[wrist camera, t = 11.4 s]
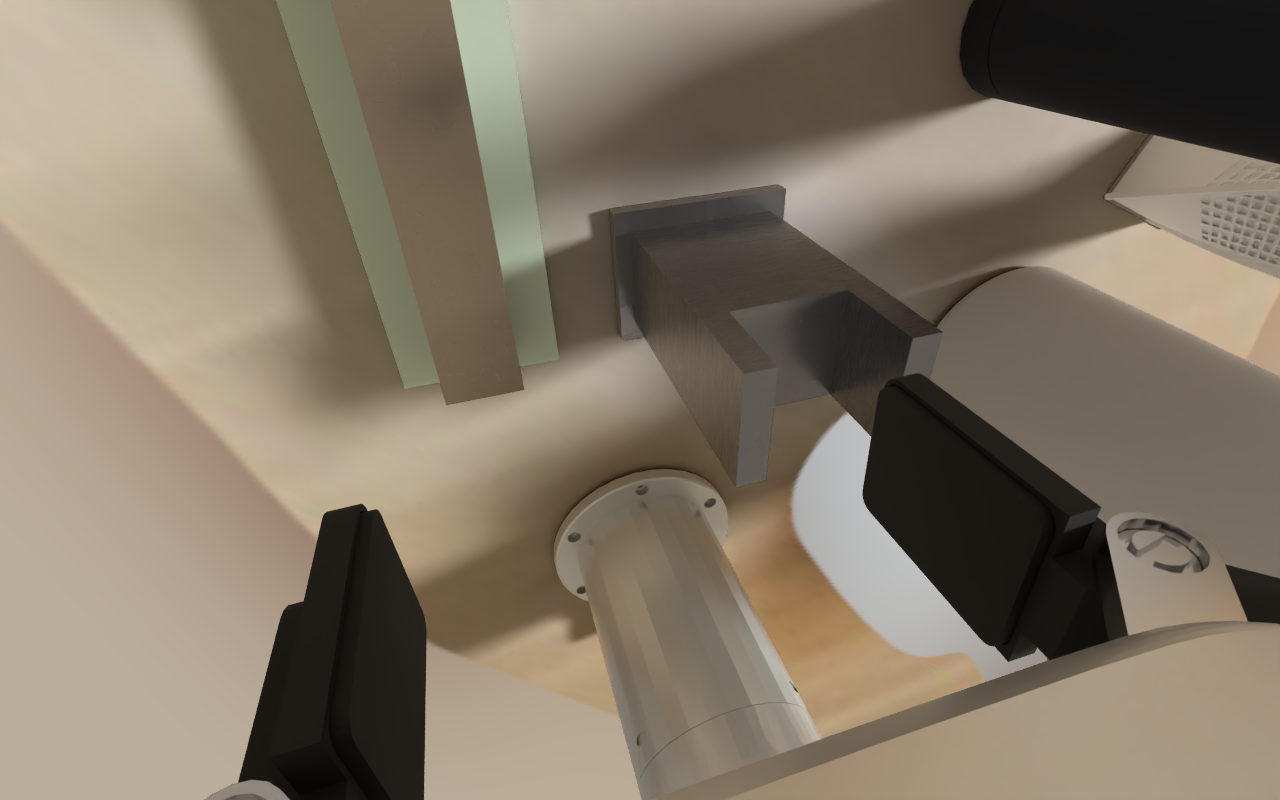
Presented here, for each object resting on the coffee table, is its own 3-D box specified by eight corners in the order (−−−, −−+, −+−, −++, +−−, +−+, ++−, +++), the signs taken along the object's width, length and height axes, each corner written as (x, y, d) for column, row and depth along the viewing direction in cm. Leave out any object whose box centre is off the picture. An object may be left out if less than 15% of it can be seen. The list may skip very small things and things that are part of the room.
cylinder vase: (1054, 222, 38) (1716, 491, 19) (1077, 347, 46) (1567, 630, 26) (886, 346, 40) (1330, 708, 21) (935, 446, 48) (1294, 779, 28)
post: (767, 306, 36) (923, 458, 25) (618, 334, 34) (714, 512, 23) (778, 184, 31) (971, 301, 20) (609, 208, 30) (721, 351, 19)
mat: (557, 354, 33) (559, 359, 33) (404, 382, 32) (404, 389, 31) (447, -399, 18) (447, -409, 17) (140, -418, 16) (132, -429, 16)
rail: (514, 352, 32) (524, 389, 29) (443, 365, 31) (446, 405, 28) (378, -357, 18) (370, -417, 15) (242, -363, 17) (207, -429, 14)
